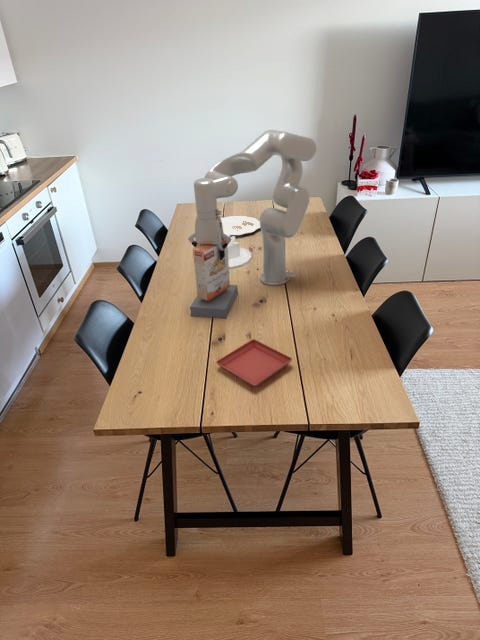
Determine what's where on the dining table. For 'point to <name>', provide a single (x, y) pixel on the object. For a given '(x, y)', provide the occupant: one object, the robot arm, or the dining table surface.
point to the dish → (237, 254)
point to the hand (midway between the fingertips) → (211, 258)
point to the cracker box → (210, 271)
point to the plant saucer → (254, 362)
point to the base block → (215, 304)
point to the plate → (237, 221)
